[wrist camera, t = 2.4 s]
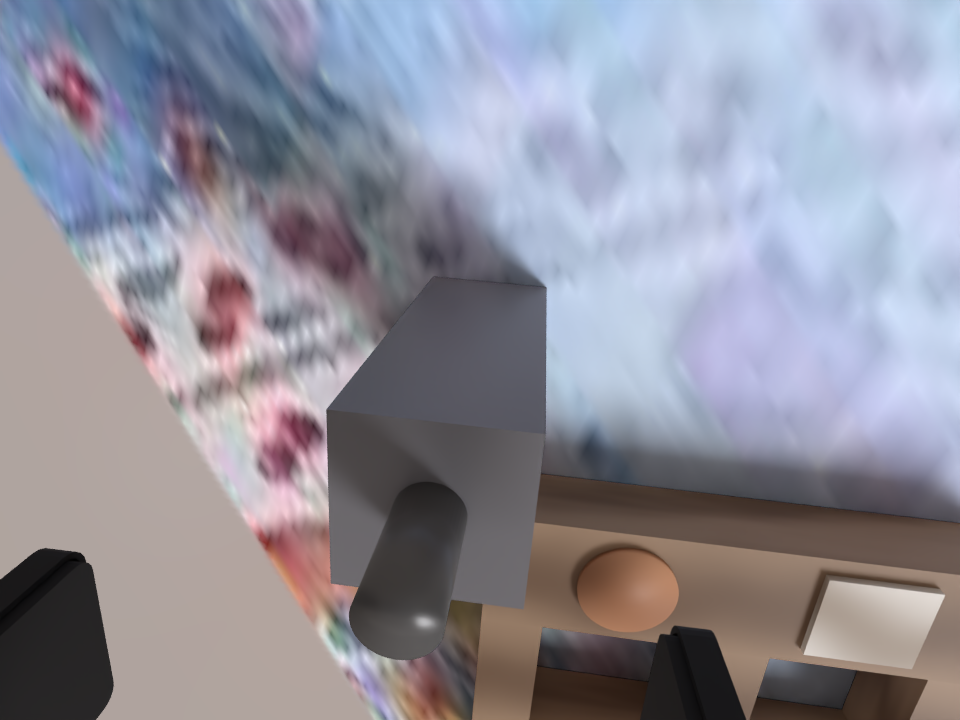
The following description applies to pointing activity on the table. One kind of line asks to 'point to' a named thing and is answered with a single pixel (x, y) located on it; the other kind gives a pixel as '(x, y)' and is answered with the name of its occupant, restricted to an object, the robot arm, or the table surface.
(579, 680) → the socket block
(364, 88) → the table surface
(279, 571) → the table surface
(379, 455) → the plug
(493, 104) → the table surface
